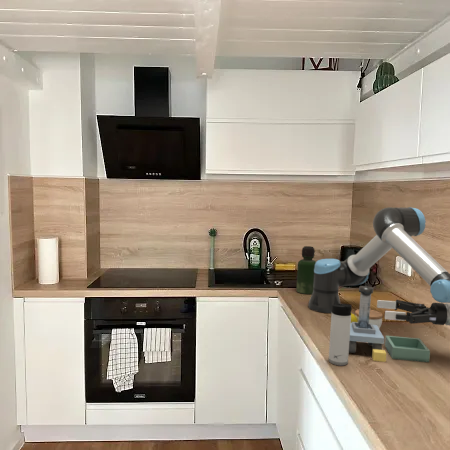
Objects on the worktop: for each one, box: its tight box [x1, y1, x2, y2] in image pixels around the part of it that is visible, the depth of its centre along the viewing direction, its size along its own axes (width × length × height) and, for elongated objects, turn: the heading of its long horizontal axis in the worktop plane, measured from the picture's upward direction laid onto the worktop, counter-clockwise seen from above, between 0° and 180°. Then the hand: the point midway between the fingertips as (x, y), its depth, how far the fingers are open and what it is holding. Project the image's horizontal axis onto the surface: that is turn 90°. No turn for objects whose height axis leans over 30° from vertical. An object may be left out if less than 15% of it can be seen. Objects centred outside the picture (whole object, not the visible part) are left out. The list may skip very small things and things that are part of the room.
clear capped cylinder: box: [358, 285, 374, 329], centre depth 153 cm, size 5×5×16 cm
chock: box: [371, 348, 388, 363], centre depth 145 cm, size 3×4×3 cm
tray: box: [384, 335, 431, 363], centre depth 151 cm, size 12×12×4 cm
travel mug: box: [328, 303, 353, 367], centre depth 141 cm, size 6×7×20 cm
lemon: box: [351, 312, 357, 323], centre depth 171 cm, size 6×6×8 cm
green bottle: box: [295, 245, 317, 295], centre depth 232 cm, size 10×10×25 cm
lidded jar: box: [354, 309, 384, 329], centre depth 173 cm, size 11×11×9 cm
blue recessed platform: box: [349, 322, 385, 354], centre depth 154 cm, size 14×12×8 cm
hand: (380, 309), depth 152 cm, fingers open, 13 cm apart
